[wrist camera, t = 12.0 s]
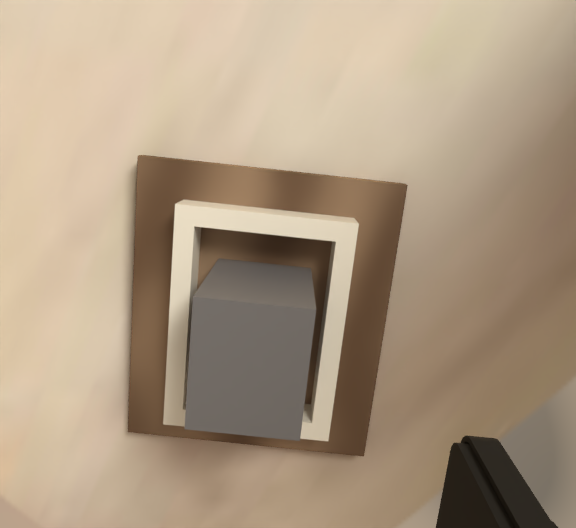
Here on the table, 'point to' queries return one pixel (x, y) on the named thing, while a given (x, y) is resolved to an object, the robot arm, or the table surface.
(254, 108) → the table surface
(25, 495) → the table surface
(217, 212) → the brown piece
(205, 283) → the grey rectangular block
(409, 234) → the table surface
